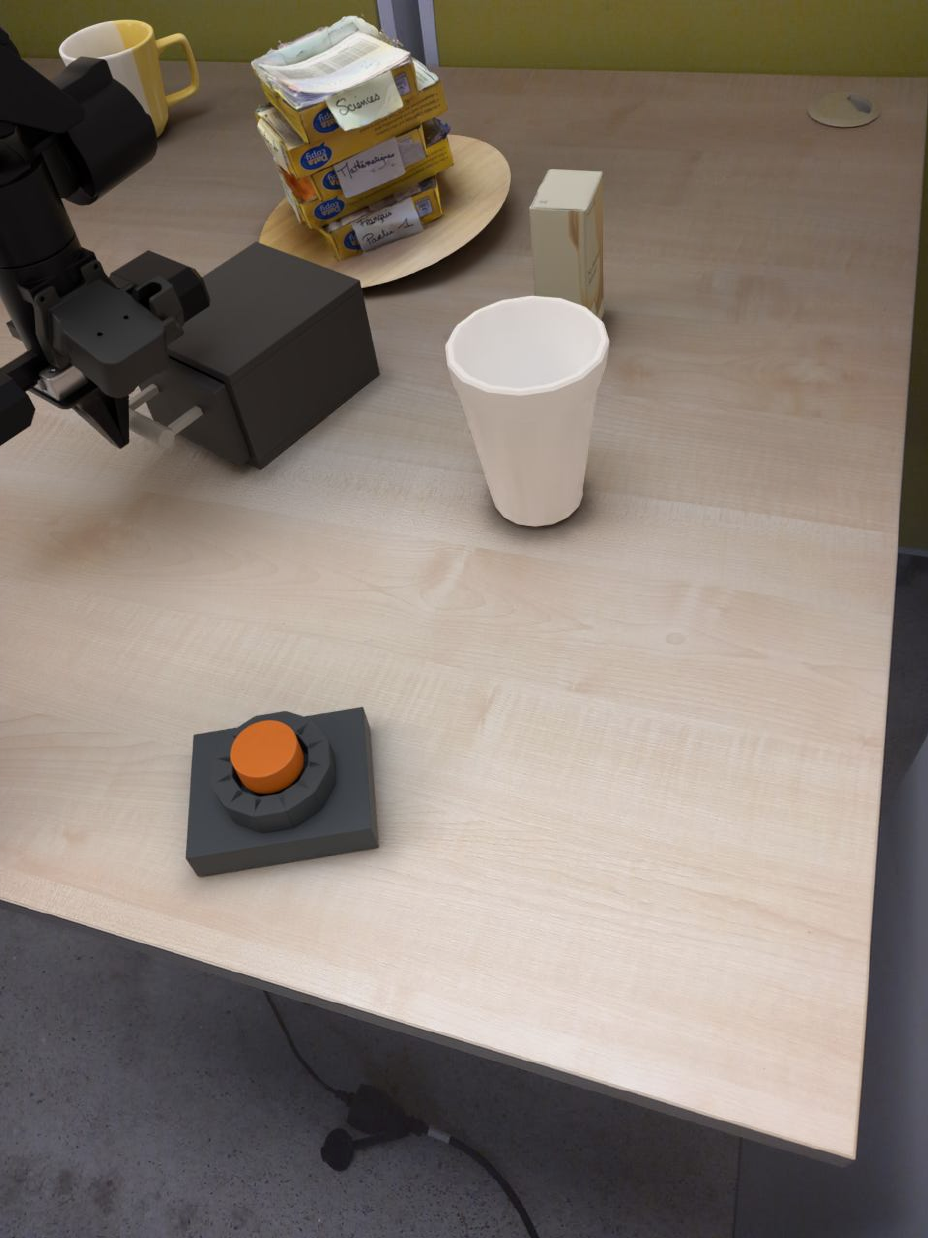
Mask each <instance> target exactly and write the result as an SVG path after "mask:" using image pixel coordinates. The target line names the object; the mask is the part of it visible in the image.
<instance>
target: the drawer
mask: <svg viewBox="0 0 928 1238" xmlns="http://www.w3.org/2000/svg"><path fill="white" fill-rule="evenodd" d="M168 356H169V355H168ZM138 388H139V390H140V392H138V393H137V394H135V395H134V396H132V397H131V398H129V431H131V432H133V433H134V434H136V435H138V436H140V437H142V438H144V439H146V440H148V441H149V442H151V443H153V444H155V445H156V446H159V447H161V448H162V449H168V448H170V447H171V446H173V444H174V443H175V440H176V435H177V434H178V435H180V436H182V437H184V438H187V439H188V440H189V441H191V442H194V443H195V444H197V445H199V446H201V447H203V448H205V449H207V450H209V451H210V452H212V453H214V454H215V455H218V456H219V457H222V458H223V459H225V460H227V461H229V462H231V463H233V464H235V465H237V466H238V467H242V466H243V465H244V464H247V463H248V462H247V461H248V460H250V459H251V455H250V452H249V449H248V446H247V444H246V441H245V438H244V435H243V432H242V429H241V427H240V424H239V421H238V418H237V415H236V412H235V410H234V407H233V404H232V401H231V398H230V396H229V393H228V390H227V387H226V385H225V383H224V382H223V381H221V380H219V379H217V378H215V377H213V376H211V375H209V374H207V373H205V372H203V371H200V370H198V369H196V368H194V367H192V366H190V365H188V364H186V363H184V362H182V361H180V360H178V359H175V358H173V357H171V356H169V365H168V367H167V368H166V369H165V370H164V371H163V372H161V373H160V374H155V375H153V376H152V377H151V378H149V379H148V380H146V381H145V382H143V383H142V384H140V385H139V386H138ZM144 404H146V406H147V408H148V410H149V414H150V415H151V418H150V417H148V416H146V415H145V414H142V413H140V412H139V411H137V409H138V408H140V407H141V406H143V405H144Z"/></svg>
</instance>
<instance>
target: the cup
mask: <svg viewBox="0 0 928 1238" xmlns="http://www.w3.org/2000/svg"><path fill="white" fill-rule="evenodd" d="M444 348H445V356H446V365H447V366H446V367H447V369H448V373H449V376H450V380H451V383H452V387H453V390H455V392H456V394H457V395H458V398H459V402H460V404H461V407H462V410H463V413H464V416H465V419H466V422H467V425H468V428H469V433H470V434H471V437H472V441H473V443H474V447H475V450H476V453H477V456H478V459H479V462H480V465H481V468H482V471H483V474H484V477H485V481H486V483H487V486H488V489H489V493H490V495H491V498H492V501H493V504H494V508H495V509H496V510H497V511H498V512H499V514H500V515H501V516H502V517H503V518H505V519H507V520H508V521H511V522H512V523H514V524H516V525H519V526H521V525H522V526H528V527H542V526H549V525H554V524H556V523H559V522H560V521H563V520H565V519H567V518H569V517H570V516H571V515H572V514H573V513H574V512H575V511H577V509H578V508H579V507H580V504H581V502H582V499H583V496H584V490H583V489H584V482H585V475H586V470H587V469H586V468H587V462H588V455H589V448H590V441H591V434H592V428H593V423H594V422H593V421H594V415H595V408H596V400H597V395H598V389H599V387H600V386H601V382H602V379H603V376H604V373H605V371H606V367H607V365H608V364H607V363H608V358H609V357H608V356H609V348H610V338H609V335H608V332H607V329H606V325H605V323H604V321H603V320H600V319H599V318H598V317H596V316H595V315H594V314H593V313H592V312H591V311H590V310H588V309H587V308H586V307H584V306H581V305H579V304H576V303H573V302H570V301H567V300H565V299H562V298H553V297H541V296H535V295H528V296H527V295H526V296H520V297H515V298H514V297H513V298H507V299H502V300H499V301H495V302H494V303H490V304H489V305H486V306H484V307H483V306H482V307H481V308H479V309H478V308H477V309H476V310H474V311H473V312H472V313H470V315H468V316H467V317H465V318H464V319H463V320H461V322H459V323H457V324H456V325H455V327H454V329H453V330H452V332H451V333H450V336H449V337H448V340H447V341H446V343H445V345H444Z"/></svg>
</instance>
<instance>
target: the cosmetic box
mask: <svg viewBox="0 0 928 1238" xmlns="http://www.w3.org/2000/svg"><path fill="white" fill-rule="evenodd" d="M603 177H604V175H603V171H601V170H579V169H578V170H577V169H559V168H558V169H557V168H551V169H548V170H547V172H546V174H545V175H544V178H543V179H542V182H541V183H540V185H539V187H538V189H537V191H536V193H535V196H534V197H533V200H532V201H531V204H530V206H529V208H528V209H529V225H530V240H531V242H530V243H531V256H532V257H531V258H532V271H533V274H532V275H533V288H534V296H541V297H553V298H562V299H565V300H567V301H570V302H573V303H576V304H579V305H581V306H584V307H586V308H587V309H588V310H590V311H591V312H592V313H593V314H594V315H595V316H596V317H598V318H599V319H600V320H601V321H603V320H602V319H603V317H604V314H605V312H604V311H605V297H604V294H605V293H604V291H605V289H604V285H605V284H604V188H603V187H604V186H603V185H604V184H603V183H604V181H603V180H604V179H603Z"/></svg>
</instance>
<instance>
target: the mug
mask: <svg viewBox="0 0 928 1238" xmlns="http://www.w3.org/2000/svg"><path fill="white" fill-rule="evenodd" d="M178 44H179V45H181V46H182V49H183V51H184V54H185V58H186V61H187V64H188V67H189V68H188V69H189V71H190V77H191V83H190V85H189V86H187V87H185V88H184V89H181V90H180V91H176V92H173V93H170V94H167V95H166V91H165V87H164V82H163V77H162V70H161V63H160V57H161V55H162V54H163V52H164V51H165V50H166V49H167V48H169V47H172V46H176V45H178ZM58 53H59V56H60V58H61V59H62V61H63V63H64V65H65V68H66V67H67V66H68V65H69V64H70V63H71V62H73V61H74V60H76V59H78V58H79V57H81V56H83V57H91V58H100V59H105V60H106V61H107V62H108V65H109V68H110V71H111V74H112V77H113V78H114V79H115V80H117V81H118V82H120V83H121V84H122V85H124V86H125V87H126V88H127V89H128V90H129V91H130V92H131V93H132V94H133V95H134V96H135V97H136V99H137V100H138V101H139V102H140V104H141V105H142V107H143V108H144V110H145V112H146V113H147V114H149V115H150V116H151V118H152V121H153V123H154V126H155V130H156V134H157V138H159V137H160V136H161V135H162V134H163V133H164V131H165V128H166V126H167V122H168V120H169V108H170V107H171V108H172V107H173V106H175V105H177V104H179V103H181V102H183V101H185V100H187V99H189V98H191V97H193V96H194V95H196V94H197V93H198V92H199V90H200V88H201V87H200V86H201V82H200V75H199V69H198V66H197V62H196V59H195V56H194V52H193V50H192V48H191V45H190V43H189V40H188V38H187V37H186V36H185V35H184V33H181V32H178V33H174V34H171V35H167V36H165V37H161V38H159V39H156V35H155V30H154V28H153V26H152V25H151V24H149V23H147V22H145V21H141V20H136V19H118V20H117V19H116V20H110V21H109V20H108V21H103V22H100V23H95V24H93V25H90V26H87V27H84V28H82V29H80V30H78V31H77V32H76V31H75V32H74V33H72V34H71V35H70V36H68V37H66V38H65V40H63V41H62V42H61V44H60V45H59V48H58Z"/></svg>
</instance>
